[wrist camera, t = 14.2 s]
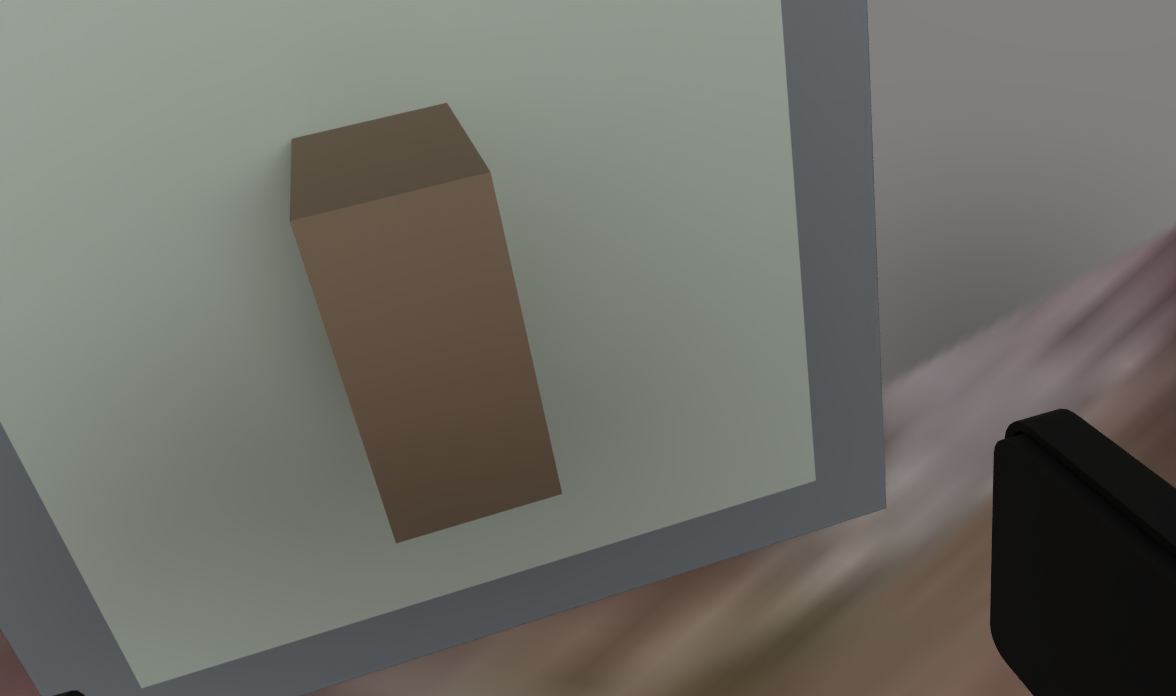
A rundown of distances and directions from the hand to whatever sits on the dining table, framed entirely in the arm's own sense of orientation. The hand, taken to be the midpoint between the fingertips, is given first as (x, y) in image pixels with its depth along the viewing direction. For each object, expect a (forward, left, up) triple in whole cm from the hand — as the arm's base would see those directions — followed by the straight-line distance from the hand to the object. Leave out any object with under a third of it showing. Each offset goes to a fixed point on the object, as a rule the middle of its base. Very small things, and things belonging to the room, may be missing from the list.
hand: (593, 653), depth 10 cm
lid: (+1, 0, -13) cm, 13 cm away
